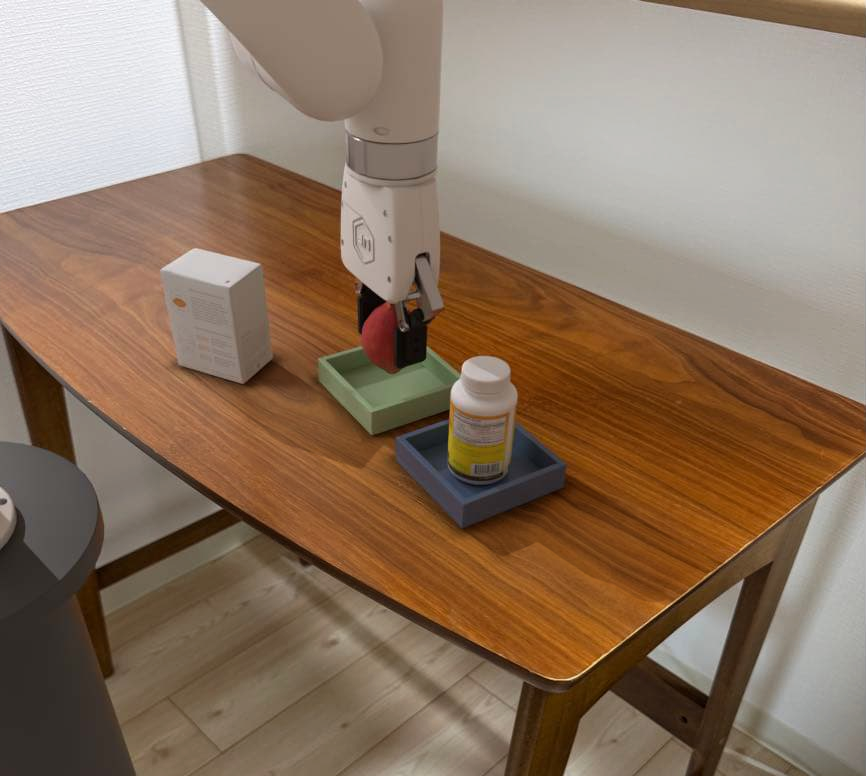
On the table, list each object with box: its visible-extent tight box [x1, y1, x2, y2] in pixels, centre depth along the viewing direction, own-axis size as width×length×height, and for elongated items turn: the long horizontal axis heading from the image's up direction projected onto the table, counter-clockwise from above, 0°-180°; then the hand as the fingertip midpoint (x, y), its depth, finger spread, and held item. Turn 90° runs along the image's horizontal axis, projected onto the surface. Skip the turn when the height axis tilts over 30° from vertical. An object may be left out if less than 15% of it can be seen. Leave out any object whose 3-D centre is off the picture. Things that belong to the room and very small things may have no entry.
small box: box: [159, 247, 274, 385], centre depth 88 cm, size 8×6×10 cm
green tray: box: [317, 345, 461, 436], centre depth 88 cm, size 11×11×3 cm
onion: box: [360, 302, 412, 374], centre depth 85 cm, size 6×6×8 cm
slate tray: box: [395, 418, 568, 529], centre depth 79 cm, size 11×11×3 cm
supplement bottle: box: [448, 355, 519, 485], centre depth 76 cm, size 6×6×10 cm
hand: (391, 345), depth 85 cm, fingers closed on onion, 6 cm apart
